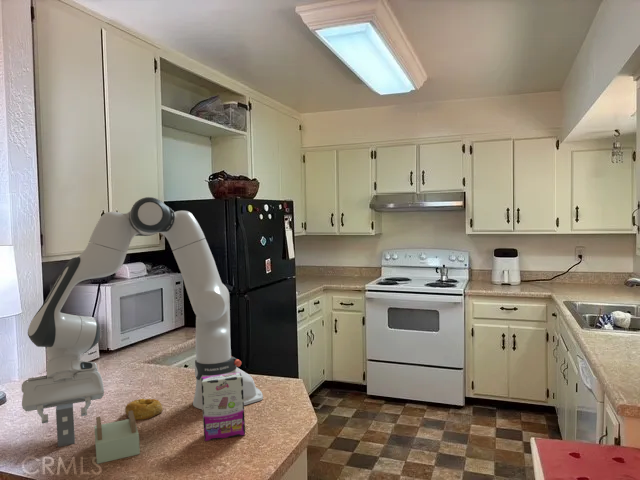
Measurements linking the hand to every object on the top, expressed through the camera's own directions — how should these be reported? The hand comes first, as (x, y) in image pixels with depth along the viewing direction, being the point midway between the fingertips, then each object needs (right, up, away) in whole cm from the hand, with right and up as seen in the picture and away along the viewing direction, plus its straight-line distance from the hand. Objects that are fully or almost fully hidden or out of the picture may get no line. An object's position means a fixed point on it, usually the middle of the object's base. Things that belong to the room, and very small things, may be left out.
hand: (64, 418), depth 131 cm
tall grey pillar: (0, -7, 0) cm, 7 cm away
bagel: (+15, -6, +18) cm, 24 cm away
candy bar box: (+43, -6, +2) cm, 43 cm away
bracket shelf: (+16, -6, -4) cm, 18 cm away
